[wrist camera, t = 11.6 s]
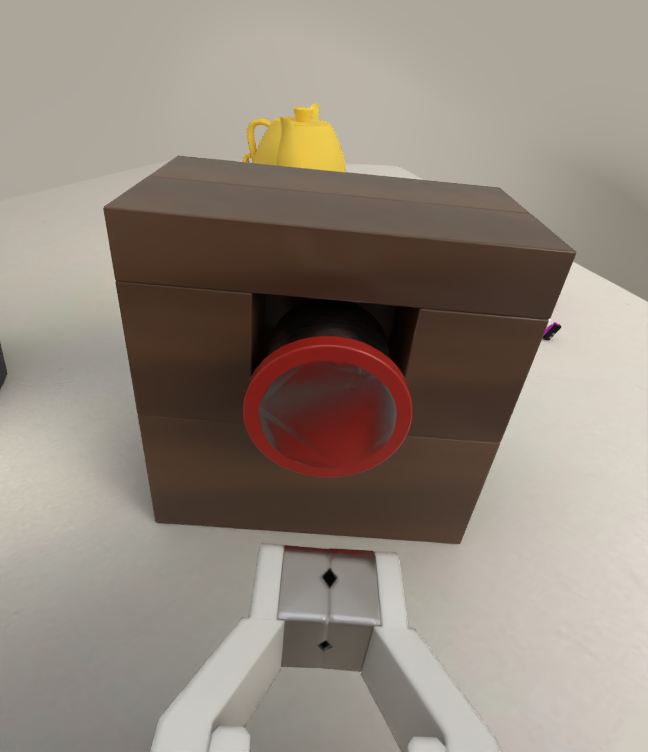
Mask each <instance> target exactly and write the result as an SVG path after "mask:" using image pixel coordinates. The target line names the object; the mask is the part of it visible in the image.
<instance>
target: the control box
mask: <svg viewBox="0 0 648 752" xmlns="http://www.w3.org/2000/svg"><path fill="white" fill-rule="evenodd" d="M104 215H105V221H106V227H107V233H108V239H109V245H110V251H111V257H112V263H113V269H114V275H115V280H116V288H117V294H118V300H119V306H120V312H121V318H122V324H123V330H124V336H125V342H126V348H127V354H128V360H129V366H130V372H131V378H132V384H133V390H134V396H135V402H136V408H137V413H138V419H139V425H140V431H141V437H142V443H143V449H144V455H145V461H146V467H147V473H148V479H149V485H150V491H151V497H152V503H153V509H154V515H155V521H156V522H160V523H174V524H188V525H202V526H216V527H230V528H244V529H258V530H272V531H286V532H300V533H314V534H328V535H342V536H356V537H370V538H384V539H398V540H412V541H427V542H441V543H455V544H460V543H461V540H462V538H463V535H464V533H465V530H466V528H467V525H468V523H469V520H470V518H471V515H472V513H473V510H474V508H475V505H476V503H477V500H478V498H479V495H480V493H481V490H482V488H483V485H484V483H485V480H486V478H487V475H488V473H489V470H490V468H491V465H492V463H493V460H494V458H495V455H496V453H497V450H498V448H499V445H500V442H501V440H502V438H503V435H504V433H505V430H506V428H507V425H508V423H509V420H510V418H511V415H512V413H513V410H514V408H515V405H516V403H517V400H518V398H519V395H520V393H521V390H522V388H523V385H524V383H525V380H526V378H527V375H528V373H529V370H530V368H531V365H532V362H533V360H534V357H535V355H536V352H537V350H538V347H539V345H540V342H541V340H542V337H543V335H544V332H545V330H546V327H547V325H548V322H549V320H548V319H550V318H551V315H552V313H553V310H554V308H555V305H556V303H557V300H558V298H559V295H560V293H561V290H562V288H563V285H564V283H565V280H566V278H567V275H568V273H569V270H570V268H571V265H572V263H573V260H574V258H575V255H576V251H575V250H573V249H572V248H571V247H570V246H569V245H567V244H566V243H565V242H564V241H562V239H560V238H559V237H558V236H557V235H556V234H554V233H553V232H552V231H551V230H550V229H548V228H547V227H546V226H545V225H544V224H543V223H541V222H540V221H539V220H538V219H537V218H535V217H534V216H533V215H532V214H530V213H529V212H528V211H527V210H526V209H524V208H523V207H522V206H521V205H519V204H518V203H517V202H516V201H515V200H514V199H512V198H511V197H510V196H509V195H508V194H506V193H505V192H504V191H503V190H502V189H501V188H498V187H488V186H477V185H467V184H457V183H447V182H437V181H427V180H417V179H407V178H397V177H387V176H377V175H367V174H357V173H347V172H337V171H327V170H317V169H307V168H297V167H287V166H276V165H266V164H256V163H246V162H236V161H226V160H216V159H206V158H196V157H185V156H177V157H176V158H174V159H172V160H171V161H170V162H168V163H167V164H165V165H164V166H162V167H161V168H160V169H158V170H157V171H155V172H154V173H152V174H151V175H150V176H148V177H146V178H145V179H143V180H142V181H140V182H139V183H138V184H136V185H135V186H133V187H132V188H130V189H129V190H127V191H126V192H125V193H123V194H122V195H120V196H119V197H117V198H116V199H114V200H113V201H112V202H110V203H109V204H107V205H106V206H104ZM314 299H327V300H338V301H350V302H353V303H355V304H358V305H359V306H361V307H363V308H365V309H366V310H367V311H369V312H370V313H371V314H372V315H373V316H374V317H375V318H376V319H377V320H378V322H379V323H380V324H381V326H382V328H383V330H384V332H385V335H386V339H387V344H388V349H389V355H390V359H391V360H392V361H393V362H394V363H395V364H396V366H397V367H398V368H399V369H400V371H401V372H402V374H403V376H404V378H405V379H406V382H407V385H408V387H409V391H410V396H411V401H412V407H413V416H412V422H411V426H410V429H409V432H408V434H407V436H406V438H405V440H404V441H403V443H402V444H401V446H400V447H399V448H398V449H397V450H396V451H395V452H394V453H393V455H391V456H390V457H389V458H388V459H386V460H385V461H384V462H382V463H380V464H379V465H377V466H375V467H373V468H371V469H369V470H366V471H364V472H361V473H358V474H354V475H350V476H343V477H332V478H327V477H314V476H308V475H303V474H299V473H296V472H293V471H290V470H288V469H286V468H283V467H281V466H280V465H278V464H276V463H274V462H273V461H272V460H270V459H269V458H268V457H266V456H265V455H264V454H263V453H262V452H261V451H260V450H259V449H258V448H257V446H256V445H255V444H254V443H253V441H252V439H251V438H250V436H249V434H248V431H247V429H246V426H245V423H244V418H243V401H244V397H245V393H246V390H247V386H248V383H249V380H250V378H251V376H252V374H253V373H254V371H255V370H256V368H257V367H258V366H259V364H260V363H261V362H262V361H263V360H264V359H265V358H266V357H267V354H268V349H269V344H270V340H271V336H272V333H273V331H274V328H275V326H276V325H277V323H278V322H279V320H280V319H281V318H282V317H283V316H284V315H285V314H286V313H287V312H288V311H290V310H291V309H292V308H294V307H296V306H298V305H300V304H302V303H304V302H307V301H310V300H314Z"/></svg>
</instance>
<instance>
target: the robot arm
mask: <svg viewBox="0 0 648 752" xmlns="http://www.w3.org/2000/svg"><path fill="white" fill-rule="evenodd" d="M281 667H301V668H324V669H335V670H347V671H358V672H361V676H362V677H363V679H364V681H365V683H366V685H367V687H368V689H369V691H370V693H371V695H372V697H373V698H374V700H375V702H376V704H377V706H378V708H379V710H380V712H381V714H382V716H383V717H384V719H385V721H386V723H387V725H388V727H389V729H390V731H391V733H392V735H393V737H394V738H395V740H396V742H397V744H398V746H399V748H400V750H401V752H499V748H498V743H497V739H496V738H495V737H494V735H493V734H492V732H491V731H490V730H489V728H488V727H487V726H486V724H485V723H484V722H483V720H482V719H481V717H480V716H479V715H478V713H477V712H476V711H475V709H474V708H473V707H472V705H471V704H470V702H469V701H468V700H467V698H466V697H465V696H464V694H463V693H462V692H461V690H460V689H459V687H458V686H457V685H456V683H455V682H454V681H453V679H452V678H451V677H450V675H449V674H448V672H447V671H446V670H445V668H444V667H443V666H442V664H441V663H440V661H439V660H438V659H437V657H436V656H435V655H434V653H433V652H432V651H431V649H430V648H429V646H428V645H427V644H426V642H425V641H424V640H423V638H422V637H421V636H420V634H419V633H418V631H417V630H416V629H412V628H409V627H408V619H407V612H406V604H405V597H404V589H403V582H402V574H401V567H400V559H399V557H398V555H397V553H388V552H373V551H366V550H347V549H321V548H309V547H298V546H286V545H285V548H284V545H276V544H261V546H260V549H259V554H258V561H257V568H256V575H255V581H254V588H253V595H252V601H251V608H250V615H249V618H241V619H240V621H239V622H238V623H237V624H236V626H235V627H234V628H233V629H232V630H231V632H230V633H229V634H228V635H227V636H226V638H225V639H224V640H223V641H222V643H221V644H220V645H219V646H218V647H217V649H216V650H215V651H214V652H213V654H212V655H211V656H210V657H209V658H208V660H207V661H206V662H205V663H204V665H203V666H202V667H201V668H200V669H199V671H198V672H197V673H196V674H195V675H194V677H193V678H192V679H191V680H190V682H189V683H188V684H187V685H186V686H185V688H184V689H183V690H182V691H181V693H180V694H179V695H178V696H177V697H176V699H175V700H174V701H173V702H172V703H171V705H170V706H169V707H168V708H167V710H166V711H165V712H164V713H163V714H162V716H161V717H160V718H159V720H158V724H157V728H156V731H155V735H154V739H153V743H152V746H151V750H150V752H250V735H249V733H248V732H247V731H246V729H245V726H246V725H247V723H248V721H249V720H250V718H251V717H252V715H253V713H254V712H255V710H256V709H257V707H258V705H259V704H260V702H261V701H262V699H263V697H264V696H265V694H266V693H267V691H268V689H269V688H270V686H271V685H272V683H273V681H274V680H275V678H276V677H277V675H278V673H279V672H280V670H281Z"/></svg>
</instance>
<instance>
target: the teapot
mask: <svg viewBox="0 0 648 752" xmlns="http://www.w3.org/2000/svg"><path fill="white" fill-rule="evenodd" d="M294 113H295V117H278V118H275V119H274V120H273V121H272V122H271V121H269V120H267V119H265V118H258V119H255V120H253V121H252V122H251V123H250V124H249V126H248V128H247V139H248V144H249V149H250V152H251V154H250V153H249V154H246V155H245V156H244V158H243V162H246V163H249V158H252V163H256V164H266V165H276V166H287V167H297V168H307V169H317V170H327V171H337V172H346V169H345V160H344V155H343V151H342V148H341V145H340V143H339V141H338V138H337V136H336V133H335V131H334V129H333V127H332V126H331V125H330V123H328V122H325V121H321V120H319V119H318V118H319V105H318V104H313V105H312V106H311V108H307V107H294ZM257 125H265V126H267V127H268V129H267V130H266V132H265V134H264V136H263V138H262V139H261V141H260V143H259V145H258V148H257V149H256V144H255V140H254V128H255V126H257Z"/></svg>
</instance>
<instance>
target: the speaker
mask: <svg viewBox="0 0 648 752" xmlns="http://www.w3.org/2000/svg"><path fill="white" fill-rule="evenodd" d="M6 375H7V370H6V366H5V361H4V357H3V352H2V348H1V344H0V388H1V386H2V384H3V382H4V380H5V377H6Z"/></svg>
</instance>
